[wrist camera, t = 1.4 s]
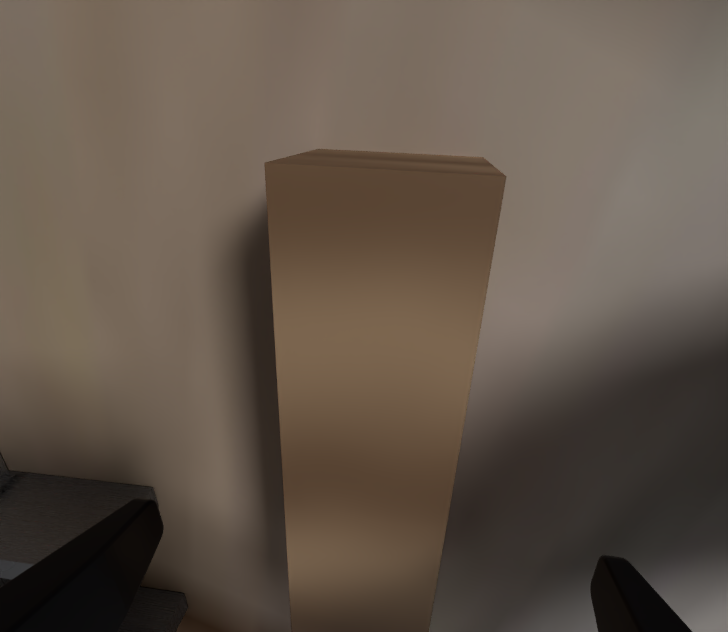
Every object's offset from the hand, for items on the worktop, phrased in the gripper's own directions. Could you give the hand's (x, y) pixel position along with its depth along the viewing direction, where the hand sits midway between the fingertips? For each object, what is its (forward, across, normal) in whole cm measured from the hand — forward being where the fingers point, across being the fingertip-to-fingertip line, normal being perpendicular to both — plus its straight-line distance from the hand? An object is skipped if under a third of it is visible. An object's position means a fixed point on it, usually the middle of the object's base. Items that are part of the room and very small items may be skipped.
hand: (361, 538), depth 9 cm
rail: (+6, 0, 0) cm, 6 cm away
